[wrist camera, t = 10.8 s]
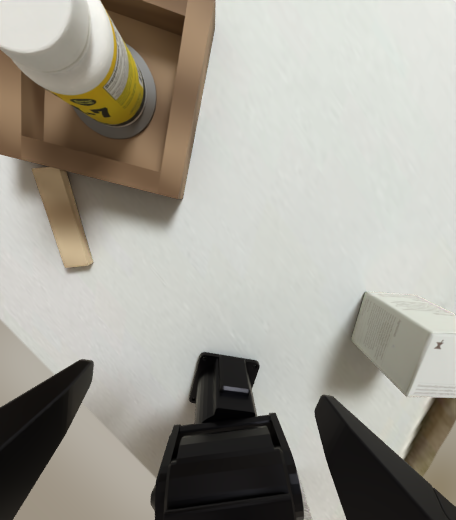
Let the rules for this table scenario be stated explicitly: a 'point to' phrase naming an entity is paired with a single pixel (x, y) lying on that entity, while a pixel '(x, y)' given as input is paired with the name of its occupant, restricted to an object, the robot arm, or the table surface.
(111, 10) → the holder
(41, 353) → the table surface
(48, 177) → the tan wooden flat bar
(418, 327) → the skincare box
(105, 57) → the supplement bottle
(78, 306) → the table surface
